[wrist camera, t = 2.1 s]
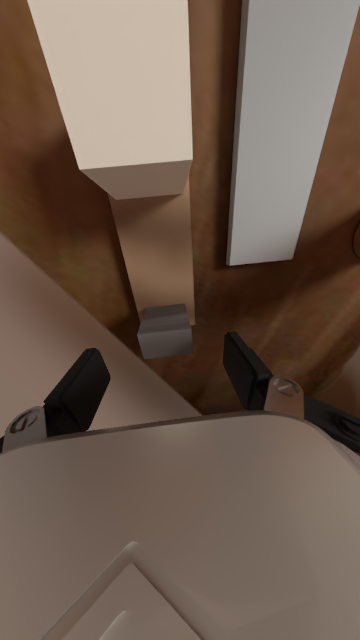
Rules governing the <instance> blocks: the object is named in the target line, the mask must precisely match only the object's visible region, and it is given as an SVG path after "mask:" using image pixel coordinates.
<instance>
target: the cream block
mask: <svg viewBox="0 0 360 640" xmlns="http://www.w3.org/2000/svg"><path fill="white" fill-rule="evenodd" d="M27 1H28V4H29V7H30V10H31V14H32V17H33V20H34V23H35V27H36V30H37V33H38V37H39V40H40V43H41V46H42V50H43V53H44V56H45V59H46V63H47V66H48V69H49V72H50V76H51V79H52V82H53V85H54V89H55V92H56V95H57V98H58V102H59V105H60V108H61V112H62V115H63V118H64V121H65V125H66V128H67V131H68V134H69V138H70V141H71V144H72V147H73V151H74V154H75V157H76V160H77V164H78V167H79V170H80V171H82V172H83V173H84V174H85V175H86V176H88V177H89V178H90V179H91V180H93V181H94V182H95V183H96V184H97V185H99V186H100V187H101V188H102V189H103V190H105V191H106V192H107V193H108V194H110V195H111V196H112V197H113V198H114V199H116V200H121V199H132V198H143V197H153V196H164V195H175V194H183V192H184V188H185V185H186V181H187V178H188V174H189V171H190V167H191V164H192V160H193V152H192V121H191V90H190V58H189V27H188V0H27Z"/></svg>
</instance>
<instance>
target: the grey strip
mask: <svg viewBox="0 0 360 640" xmlns="http://www.w3.org/2000/svg"><path fill="white" fill-rule="evenodd" d="M359 5H360V0H242V13H241V29H240V45H239V62H238V78H237V94H236V110H235V127H234V143H233V159H232V175H231V192H230V208H229V224H228V240H227V257H226V264H227V265H229V266H231V265H241V264H250V263H260V262H269V261H279V260H289V259H292V258H293V255H294V251H295V247H296V243H297V239H298V236H299V232H300V228H301V224H302V221H303V217H304V213H305V209H306V205H307V202H308V198H309V194H310V190H311V187H312V183H313V179H314V175H315V171H316V168H317V164H318V160H319V156H320V153H321V149H322V145H323V141H324V137H325V134H326V130H327V126H328V122H329V119H330V115H331V111H332V107H333V103H334V100H335V96H336V92H337V88H338V85H339V81H340V77H341V73H342V69H343V66H344V62H345V58H346V54H347V50H348V47H349V43H350V39H351V35H352V32H353V28H354V24H355V20H356V16H357V13H358V9H359Z"/></svg>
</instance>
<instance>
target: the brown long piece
mask: <svg viewBox="0 0 360 640" xmlns="http://www.w3.org/2000/svg"><path fill="white" fill-rule="evenodd" d="M108 197H109V201H110V205H111V209H112V213H113V217H114V221H115V225H116V229H117V233H118V237H119V241H120V244H121V248H122V252H123V256H124V260H125V264H126V268H127V272H128V276H129V280H130V284H131V288H132V292H133V296H134V300H135V304H136V308H137V312H138V316H139V320H140V324H141V325H140V328H139V330H138V333H137V336H138V340H139V344H140V347H141V351H142V354H143V358H144V359H150V358H159V357H167V356H176V355H185V354H193V347H192V330H191V325H195V309H194V286H193V262H192V239H191V216H190V193H189V174H188V178H187V181H186V185H185V188H184V192H183V194H175V195H164V196H153V197H143V198H132V199H121V200H116V199H114V198H113V197H112V196H111V195H110V194H108Z"/></svg>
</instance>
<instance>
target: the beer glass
mask: <svg viewBox="0 0 360 640" xmlns="http://www.w3.org/2000/svg"><path fill="white" fill-rule="evenodd" d="M353 249H354V252H355V254H356V255H357V256H358V257H359V258H360V222H359V224H358V226H357V229H356V231H355V234H354V238H353Z"/></svg>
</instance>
